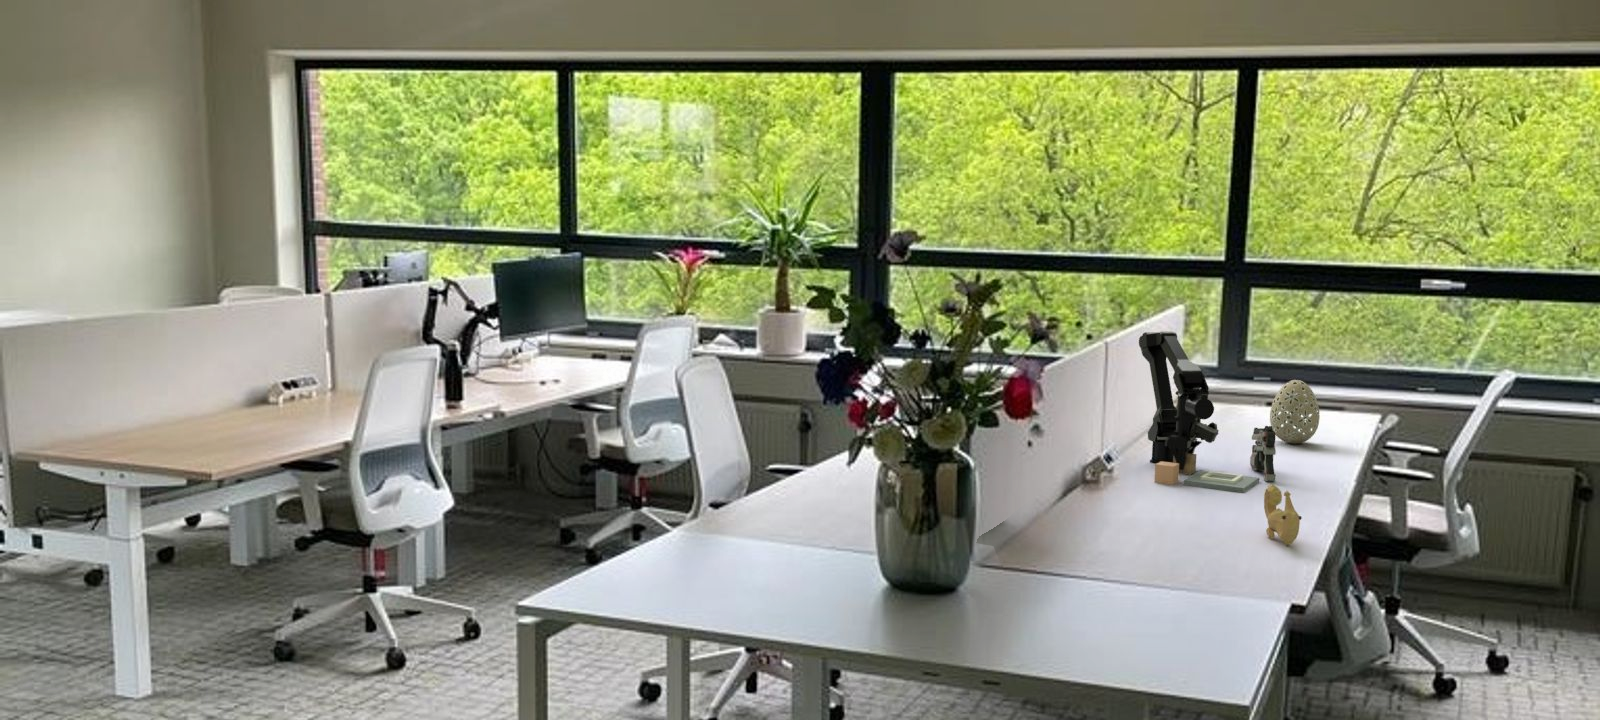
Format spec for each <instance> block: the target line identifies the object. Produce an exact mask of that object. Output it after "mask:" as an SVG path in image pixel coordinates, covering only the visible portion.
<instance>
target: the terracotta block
mask: <svg viewBox="0 0 1600 720" xmlns="http://www.w3.org/2000/svg"><path fill="white" fill-rule="evenodd" d="M1179 474H1180V473H1179V463H1171V462H1163V461H1161V462H1159V463H1155V465H1154V483H1158V484H1164V485H1165V484H1168V485H1172V486H1173V485H1174V484H1177V483H1178V482H1179V477H1180V475H1179Z"/></svg>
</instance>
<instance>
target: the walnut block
mask: <svg viewBox="0 0 1600 720" xmlns="http://www.w3.org/2000/svg"><path fill="white" fill-rule="evenodd" d="M1173 463H1177V462H1176V460H1175V457H1174V455H1173ZM1196 469H1197V454H1196V453H1193V454H1191V453H1187V456H1186V461H1185V465H1184V469H1183V470H1180V469H1179V474H1185V475H1193V473H1194V474H1195V472H1196Z"/></svg>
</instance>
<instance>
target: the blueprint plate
mask: <svg viewBox="0 0 1600 720" xmlns="http://www.w3.org/2000/svg"><path fill="white" fill-rule="evenodd" d="M1258 483H1260V477H1257V476H1249V475H1242V474H1236V473H1228V472H1222V471H1221V472H1218V471H1210V470H1202V469H1201V470H1199V471H1197V472H1196V473H1195V472H1194V474H1191V475H1190V476H1189V477H1188V476H1187V478H1185V479H1183V486H1184V485H1185V486H1192V487H1197V488H1198V487H1200V488H1206V489H1207V488H1208V489H1214V490H1221V491H1230V492H1237V493H1245V492H1247V491H1248V490H1250V489H1251V488H1252V487H1254V486H1255V485H1257V484H1258Z"/></svg>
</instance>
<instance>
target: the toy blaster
mask: <svg viewBox="0 0 1600 720" xmlns="http://www.w3.org/2000/svg"><path fill="white" fill-rule="evenodd" d="M1274 431H1275V430H1274ZM1274 431H1273V429H1272V426H1271V425H1265V426H1264V428H1258V427H1254V429H1253V433H1252V435H1251V440H1252V441H1254V440H1255V441H1254V444H1253V445H1252V446H1251V450H1252V451H1251V455H1250V457H1249V459H1250V460H1249V465H1250V467H1251V469H1252V471H1262V472H1263V471H1264V477H1263V481H1266V482H1267V481H1268V482H1275V481H1276V477H1277V475H1276V473H1275V469H1274V468H1275V467H1274V456H1276V453H1277V452H1276V446H1275V444H1276V435H1275V432H1274Z"/></svg>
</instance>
